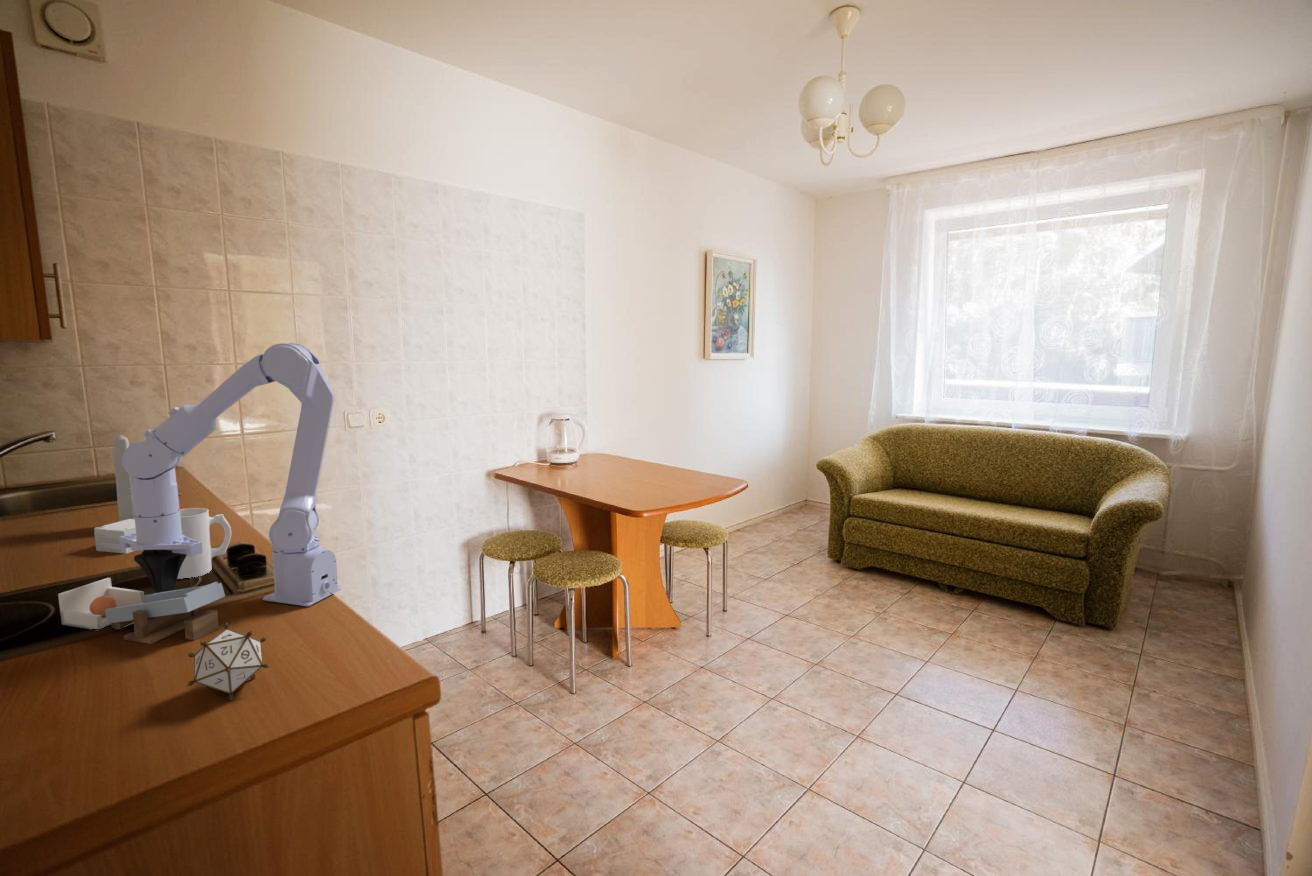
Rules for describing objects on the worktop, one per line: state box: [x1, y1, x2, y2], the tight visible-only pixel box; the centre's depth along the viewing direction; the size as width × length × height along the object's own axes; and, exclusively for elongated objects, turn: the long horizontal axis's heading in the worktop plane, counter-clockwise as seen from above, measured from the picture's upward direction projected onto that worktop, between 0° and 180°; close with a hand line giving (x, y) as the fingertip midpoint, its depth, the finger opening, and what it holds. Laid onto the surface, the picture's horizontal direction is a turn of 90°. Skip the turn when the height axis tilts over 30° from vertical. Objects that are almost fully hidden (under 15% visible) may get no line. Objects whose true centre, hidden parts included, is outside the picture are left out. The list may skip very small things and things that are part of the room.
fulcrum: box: [111, 607, 220, 645], centre depth 94 cm, size 15×9×4 cm, turn 77°
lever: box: [105, 581, 226, 624], centre depth 95 cm, size 16×10×3 cm, turn 77°
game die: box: [186, 622, 270, 702], centre depth 78 cm, size 9×8×10 cm
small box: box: [93, 519, 136, 555], centre depth 130 cm, size 8×8×5 cm
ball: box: [90, 596, 117, 617], centre depth 97 cm, size 3×3×3 cm
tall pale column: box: [112, 434, 135, 522], centre depth 141 cm, size 11×4×22 cm, turn 53°
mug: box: [177, 507, 232, 580], centre depth 116 cm, size 10×7×12 cm, turn 128°
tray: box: [57, 577, 145, 630], centre depth 97 cm, size 7×7×5 cm
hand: (165, 593), depth 100 cm, fingers closed
